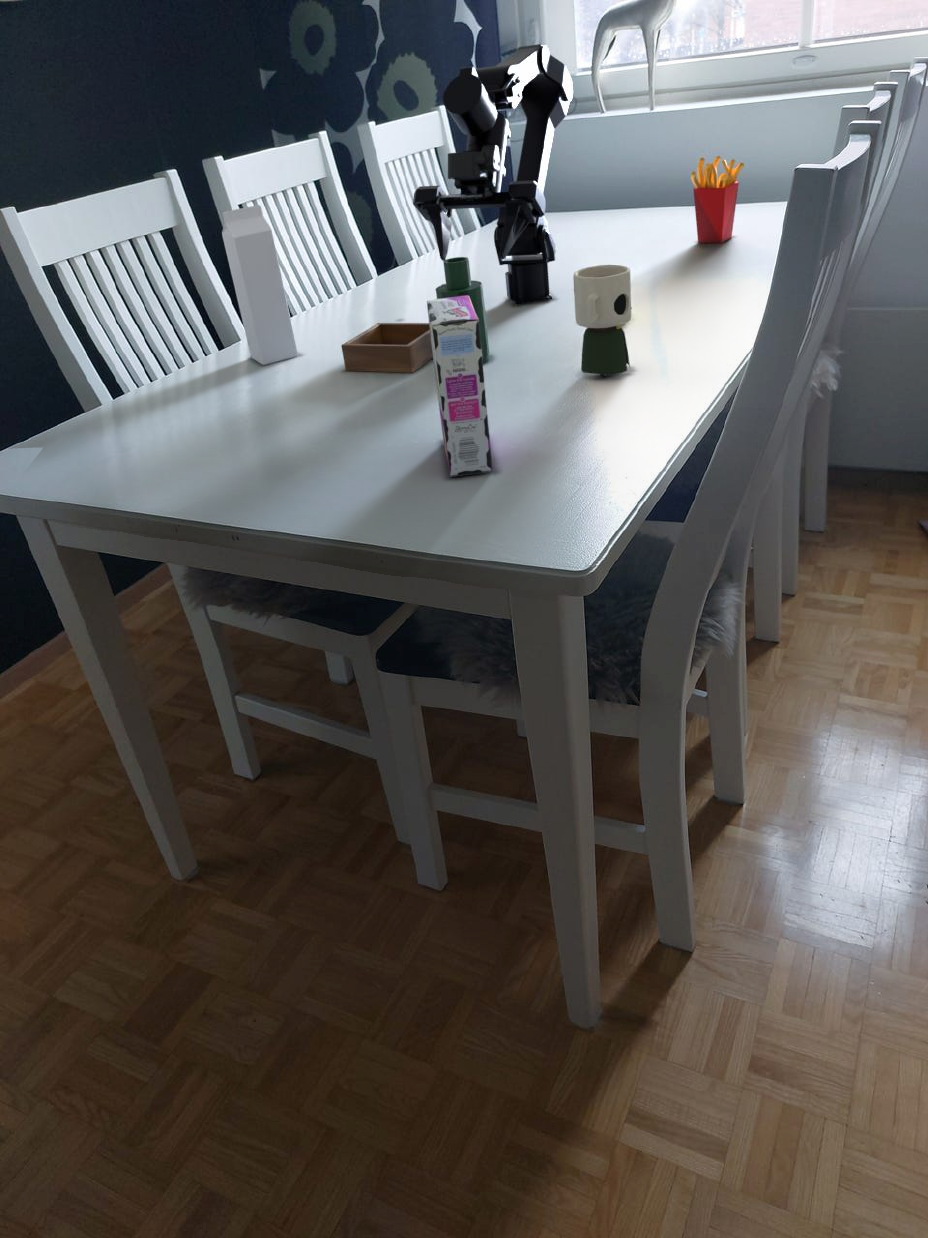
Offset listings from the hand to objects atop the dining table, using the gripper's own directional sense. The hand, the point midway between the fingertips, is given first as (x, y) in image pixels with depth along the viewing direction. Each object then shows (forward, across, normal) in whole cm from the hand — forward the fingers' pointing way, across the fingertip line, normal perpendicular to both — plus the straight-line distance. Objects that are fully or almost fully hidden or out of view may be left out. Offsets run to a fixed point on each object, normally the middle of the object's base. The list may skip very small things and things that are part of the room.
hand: (471, 258), depth 137 cm
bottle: (+15, +1, 0) cm, 15 cm away
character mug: (+18, +23, -4) cm, 29 cm away
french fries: (-28, +27, +58) cm, 70 cm away
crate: (+15, -10, +1) cm, 18 cm away
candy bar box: (+35, +14, -27) cm, 46 cm away
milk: (+14, -32, +2) cm, 35 cm away
